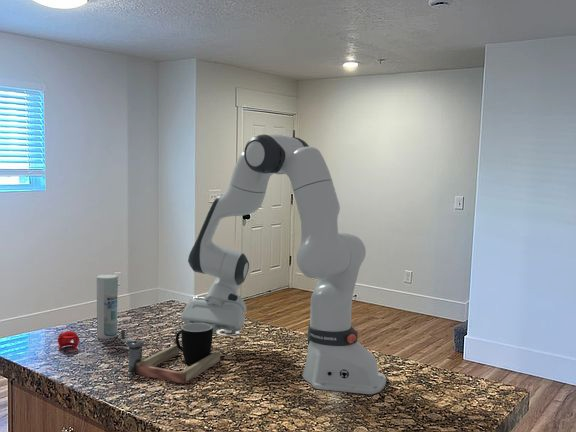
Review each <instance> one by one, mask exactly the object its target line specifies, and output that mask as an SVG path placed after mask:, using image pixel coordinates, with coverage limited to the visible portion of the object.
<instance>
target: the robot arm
mask: <svg viewBox="0 0 576 432" xmlns="http://www.w3.org/2000/svg"><path fill="white" fill-rule="evenodd" d="M328 167H329V166H328V165H327V163H326V161H325V159H324V156H323V155H322V153H321V151H320V150H319V149H318V148H316V147H313V146H310V145H309V144H308V143H307V142H306V141H305V140H303V139H301V138H299V137H296V136H287V135H282V134H258V135H255V136H253V137H251V138H250V139H249V140H248V141H247V142H246V144H245V147H244V150H243V152H241V153H240V154H239V156H238V159H237V161H236V163H235V166H234V168H233V170H232V174H231V177H230V182H229V185H228V188H227V189H226V191H225V192H224V193H223V194H220V195H218V196H217V197H216V198H215V199H213V200H214V201H213V202H212V203H211V206H210V207H209V210H208V211H207V215H206V217H205V220H204V221H203V223H202V226H201V229H200V231H199V233H198V236H197V238H196V239H195V240H196V241H195V242H194V244H193V246H192V247H191V250H190V251H189V253H188V260H187V262H188V265H189V266H190V268H191V270H192V271H193V272H194V273H199V274H202V275H203V274H204V275H208V276H211V277H214V282H212V284H211V285H210V288H209V290H208V292H207V294H206V296H205V297H200V296H194V297H193V298H190V299H189V301H188V303H187V305H186V306H184V307H185V308H184V309H183V310H182V313H181V315H180V317H181V320H182V321H183V322H184V325H186V324H190V323H206V324H210V325H212V327H213V335H214V334H215V333H216V332H217V331H218V330H220V329H224V330H231V331H232V332H236V331H239V332H240V330H242V328H243V326H244V323H245V319H246V311H247V310H248V307H247V304H246V303H245V301H244V300H243V298H242V297H241V296H240V295H238V291H239V289H240V288H241V287H242V284H243V283H244V282H245V280H246V277H247V275H248V272H249V270H250V269H249V268H250V263H249V260H248V258H247V256H246V255H245V253H243V252H241V251H240V250H239V251H238V250H235V249H231V248H228V247H224V246H221V245H218V244H215V243H214V242H213V238H214V235H215V234H216V230H217V228H218V226H219V224H220V222H221V220H222V219H224V218H230V217H241V216H246V215H250V214H252V213H255V212H256V211H258V210H259V209H260V208H261V207H262V204H263V203H264V200H265V197H266V193H267V188H268V185H269V181H270V178H271V177H272V175H286V176H287V177H288V179H289V182H290V185H291V188H292V191H293V196H294V199H295V203H296V207H297V210H298V214H299V218H300V228H301V230H300V231H301V236H300V238H301V239H300V245H299V248H298V250H297V252H296V253H297V254H296V264H297V267H298V270H299V271H300V272H301V273H302V275H304V276H306V277H307V278H309V279H318V281H317V284H316V287H315V289H314V291H313V292H312V293H311V297H310V309H309V310H310V313H309V324H308V327H307V328H308V329H307V346H308V347H307V348H308V349H307V355H306V360H305V365H304V369H303V371H302V374H301V375H302V379H304V380H305V381H306V382H308V383H309V384H311V385H312V387H313V388H314V389H316V390H323V391H334V392H343V393H353V394H365V395H374V394H377V393H379V392H381V391H382V390H383V389H384V388H385V387H386V384H387V377H386V376H385V373H382V372H380V371H379V367H378V363H377V359H376V357H375V355H374V354H373V353H371V352H370V351H369V350H368V349H367V348H366V347H364V346H363V345H362V344H361V343H360V342H359V341H358V338H359V329H355V328H354V327H353V326H352V310H353V309H352V307H353V304H352V303H353V297H354V291H355V287H356V283H357V279H358V276H359V271H360V268H361V267H362V264H363V262H364V260H365V258H366V246H365V243H364V242H363V241H362V239H361V238H359V236H357V235H355V234H354V235H353V234H350V233H346V232H342V233H341V232H340V233H339V228H338V225H339V224H338V217H339V213H340V210H341V207H340V203H339V199H338V196H337V192H336V188H335V184H334V182H333V178H332V176H331V173H330V169H329V168H328ZM224 330H223V331H224Z"/></svg>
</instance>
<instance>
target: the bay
mask: <svg viewBox="0 0 576 432" xmlns="http://www.w3.org/2000/svg"><path fill="white" fill-rule="evenodd" d="M177 354H178V355H180V349H179V348H178V347H177V345H176V343H175V344H173V345H170V346H169V347H167V348H165V349H163V350H159V351H158V352H156V353H155V354H153V355H149V357H146V358H145V359H142V361H140V362H138V363H136V372H135V373H136V375H140V376H143V377H148V378H154V379H159V380H165V381H169V382H173V383H178V384H179V383H180V384H183V385H184V384H186V383H187V382H189V381H191V380H192V379H194V378H195V377H197V376H199V375H200V374H202V373H203V372H205V371H206V369H207V370H208V369H210V368H212V367H213V366H214V365H217V364H218V363H220V361H221V350H215V351H214V352H212V353H210V355H209V356H207V357H205V358H203V359H202V360H200V361H198V362H197V363H195V364H193V365H190V366H188V367H187V368H185V369H183V370H181V371H177V370H172V369H167V368H163V367H157V366H159V365H161V364H163V363H165V362H166V360H167V361H168V360H170V359H172V358H174V357H176V356H178V355H177ZM164 361H165V362H164ZM162 362H163V363H162ZM160 363H161V364H160ZM158 364H159V365H158ZM156 365H157V366H156ZM209 367H210V368H209ZM198 374H199V375H198Z"/></svg>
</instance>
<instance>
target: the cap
mask: <svg viewBox="0 0 576 432" xmlns="http://www.w3.org/2000/svg"><path fill="white" fill-rule="evenodd" d="M71 341H73V342H71ZM57 343H58V344H57V345H58V346H59V347H58V349H59V350H61V349H62V348H63V347H67V346H68V347H69V346H72V347H71V349H72V350H75V349H76V348H78V346H79V343H80V337H79V336H78V334H77V333H76V332H75V331H72V330H67V331H64V332H60V333H59V335H58V337H57Z"/></svg>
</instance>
